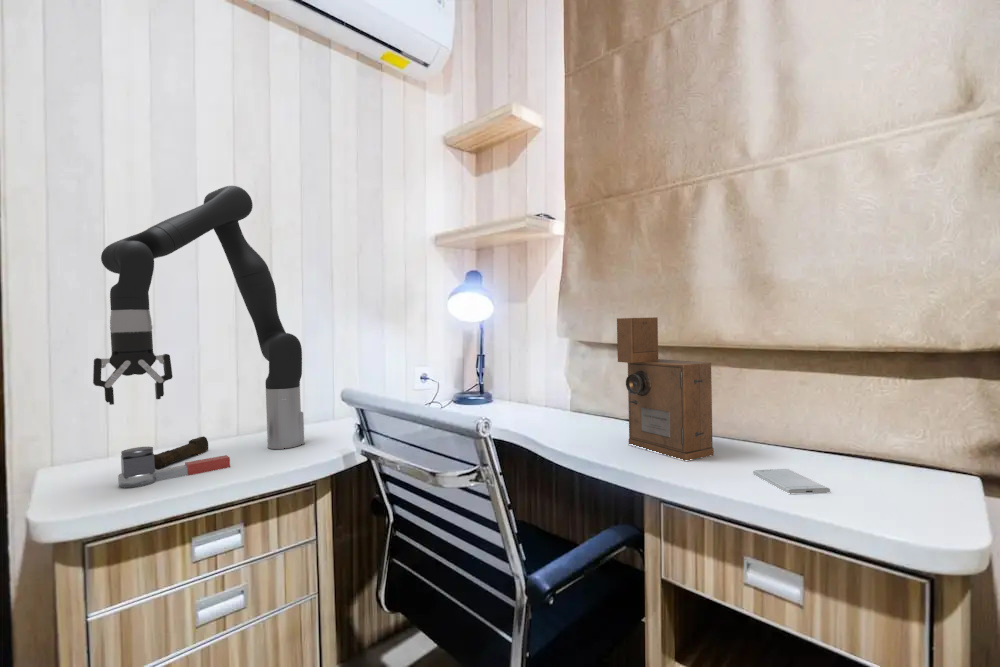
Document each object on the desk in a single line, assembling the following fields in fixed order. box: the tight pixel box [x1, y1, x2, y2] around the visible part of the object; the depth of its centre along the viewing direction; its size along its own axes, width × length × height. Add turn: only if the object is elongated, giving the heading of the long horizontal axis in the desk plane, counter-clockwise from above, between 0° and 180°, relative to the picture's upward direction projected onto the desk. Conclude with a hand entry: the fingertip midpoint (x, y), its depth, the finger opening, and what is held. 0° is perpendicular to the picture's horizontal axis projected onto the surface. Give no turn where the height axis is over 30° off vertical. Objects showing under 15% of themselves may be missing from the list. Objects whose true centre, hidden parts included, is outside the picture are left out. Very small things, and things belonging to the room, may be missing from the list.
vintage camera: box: [616, 317, 715, 461], centre depth 127 cm, size 19×14×35 cm
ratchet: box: [117, 454, 231, 490], centre depth 116 cm, size 22×7×6 cm, turn 132°
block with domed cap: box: [120, 446, 155, 478], centre depth 111 cm, size 6×6×5 cm
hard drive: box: [752, 468, 831, 495], centre depth 100 cm, size 2×8×12 cm
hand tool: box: [154, 436, 209, 470], centre depth 131 cm, size 19×4×5 cm, turn 170°
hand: (135, 401), depth 110 cm, fingers open, 8 cm apart
